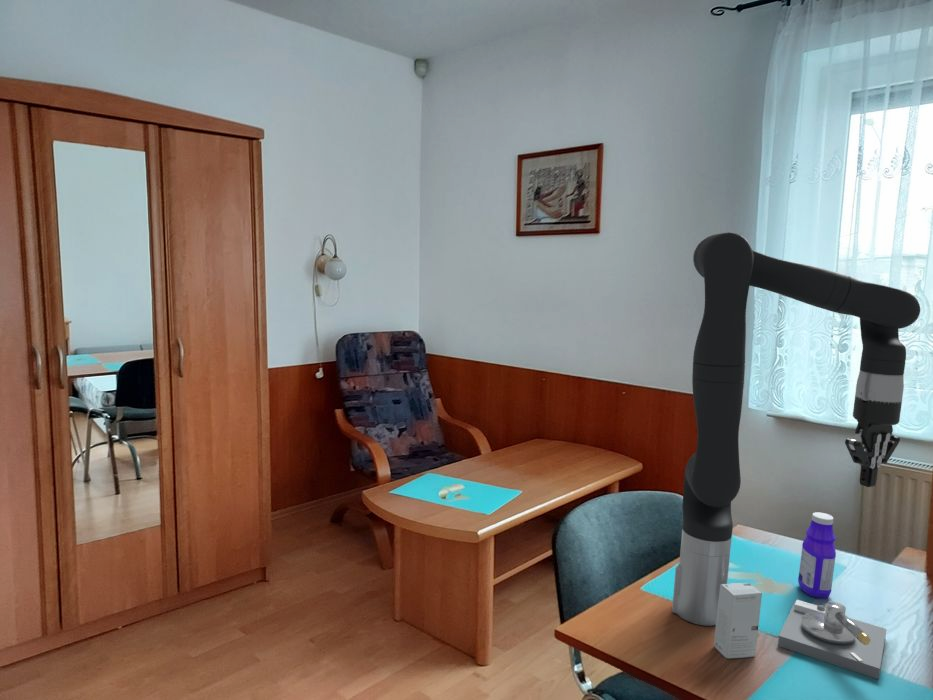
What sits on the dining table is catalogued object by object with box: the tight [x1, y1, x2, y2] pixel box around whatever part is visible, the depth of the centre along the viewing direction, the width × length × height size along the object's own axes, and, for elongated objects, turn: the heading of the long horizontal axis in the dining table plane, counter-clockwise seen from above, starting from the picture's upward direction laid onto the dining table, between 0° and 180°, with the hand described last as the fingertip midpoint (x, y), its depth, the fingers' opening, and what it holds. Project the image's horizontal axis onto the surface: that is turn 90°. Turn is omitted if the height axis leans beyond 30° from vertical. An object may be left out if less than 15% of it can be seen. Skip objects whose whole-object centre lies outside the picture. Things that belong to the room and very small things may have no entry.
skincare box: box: [713, 582, 763, 659], centre depth 121 cm, size 6×4×12 cm
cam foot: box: [801, 601, 871, 645], centre depth 122 cm, size 16×9×6 cm, turn 1°
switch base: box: [777, 599, 887, 680], centre depth 126 cm, size 16×16×4 cm
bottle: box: [797, 511, 837, 599], centre depth 145 cm, size 7×6×17 cm
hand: (867, 485), depth 128 cm, fingers closed
